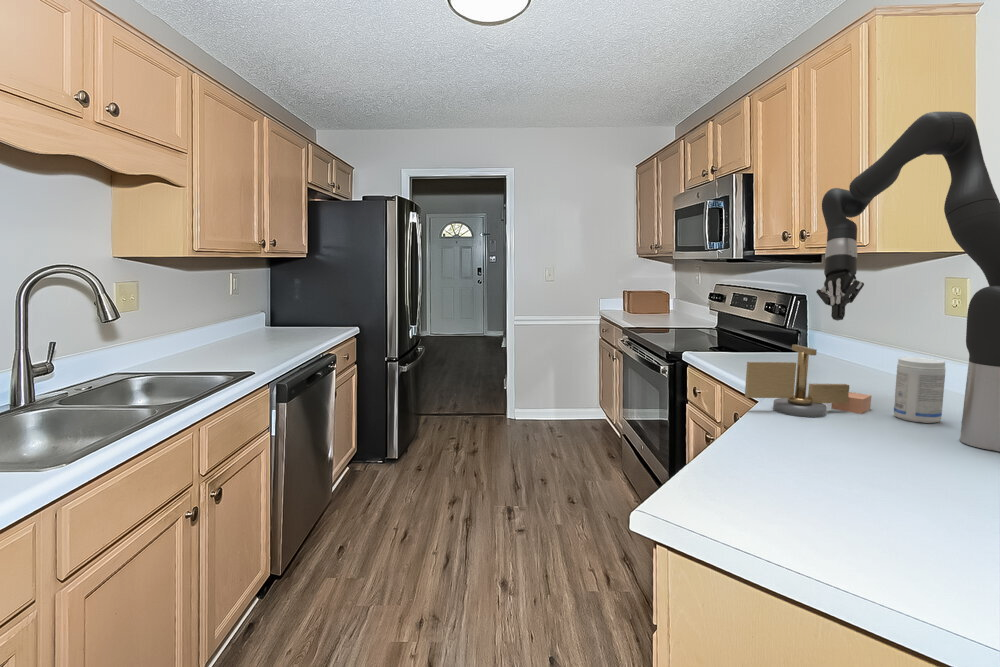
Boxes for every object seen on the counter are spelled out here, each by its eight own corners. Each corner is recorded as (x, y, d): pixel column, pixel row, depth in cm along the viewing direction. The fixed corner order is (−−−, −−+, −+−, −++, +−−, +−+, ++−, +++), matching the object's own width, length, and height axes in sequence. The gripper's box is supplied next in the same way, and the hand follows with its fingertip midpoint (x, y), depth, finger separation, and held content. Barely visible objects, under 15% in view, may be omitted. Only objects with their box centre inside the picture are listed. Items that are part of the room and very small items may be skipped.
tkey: (835, 398, 152) (839, 345, 150) (857, 406, 143) (862, 350, 141) (737, 397, 151) (741, 344, 149) (753, 406, 142) (757, 349, 140)
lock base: (834, 412, 146) (835, 405, 146) (811, 419, 139) (812, 411, 139) (787, 403, 156) (788, 396, 155) (763, 409, 149) (764, 401, 148)
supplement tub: (944, 419, 141) (950, 360, 140) (936, 426, 135) (943, 364, 133) (897, 411, 148) (903, 355, 147) (887, 418, 142) (893, 359, 140)
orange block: (870, 410, 150) (871, 395, 150) (861, 414, 146) (862, 399, 145) (840, 405, 155) (841, 390, 155) (831, 409, 151) (832, 394, 150)
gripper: (809, 260, 161) (806, 320, 158) (853, 247, 149) (850, 311, 145) (829, 268, 164) (826, 326, 160) (873, 255, 151) (871, 318, 148)
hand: (837, 319), depth 153 cm, fingers closed
